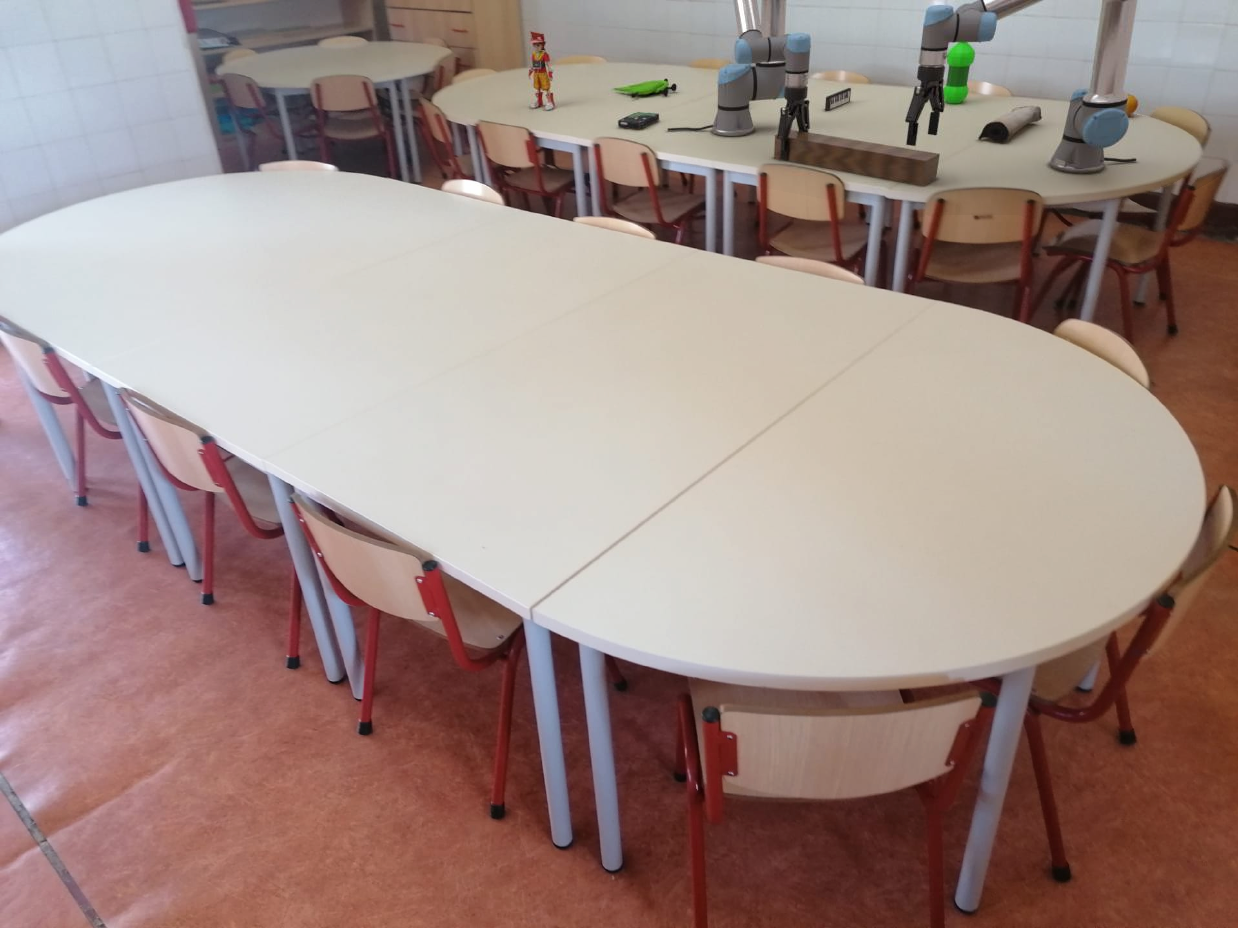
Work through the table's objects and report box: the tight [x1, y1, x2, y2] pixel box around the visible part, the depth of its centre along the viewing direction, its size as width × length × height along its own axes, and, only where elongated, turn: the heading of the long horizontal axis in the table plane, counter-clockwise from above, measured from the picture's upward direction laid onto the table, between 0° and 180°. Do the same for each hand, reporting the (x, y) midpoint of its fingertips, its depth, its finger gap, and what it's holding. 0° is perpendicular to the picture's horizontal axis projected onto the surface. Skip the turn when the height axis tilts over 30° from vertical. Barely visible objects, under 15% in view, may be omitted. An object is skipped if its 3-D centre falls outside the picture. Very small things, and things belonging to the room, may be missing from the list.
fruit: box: [1126, 93, 1139, 117], centre depth 325 cm, size 8×9×8 cm
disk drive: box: [617, 111, 660, 130], centre depth 351 cm, size 10×3×15 cm
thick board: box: [773, 129, 941, 187], centre depth 291 cm, size 55×9×8 cm, turn 47°
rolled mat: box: [977, 105, 1043, 144], centre depth 315 cm, size 30×9×10 cm
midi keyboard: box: [824, 87, 852, 111], centre depth 358 cm, size 18×1×5 cm, turn 138°
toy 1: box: [527, 31, 556, 111], centre depth 374 cm, size 12×9×30 cm
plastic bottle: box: [943, 42, 976, 104], centre depth 348 cm, size 10×10×25 cm
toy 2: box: [612, 78, 677, 99], centre depth 396 cm, size 28×5×30 cm
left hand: (792, 156), depth 306 cm, fingers closed on thick board, 9 cm apart
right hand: (921, 140), depth 273 cm, fingers open, 13 cm apart
